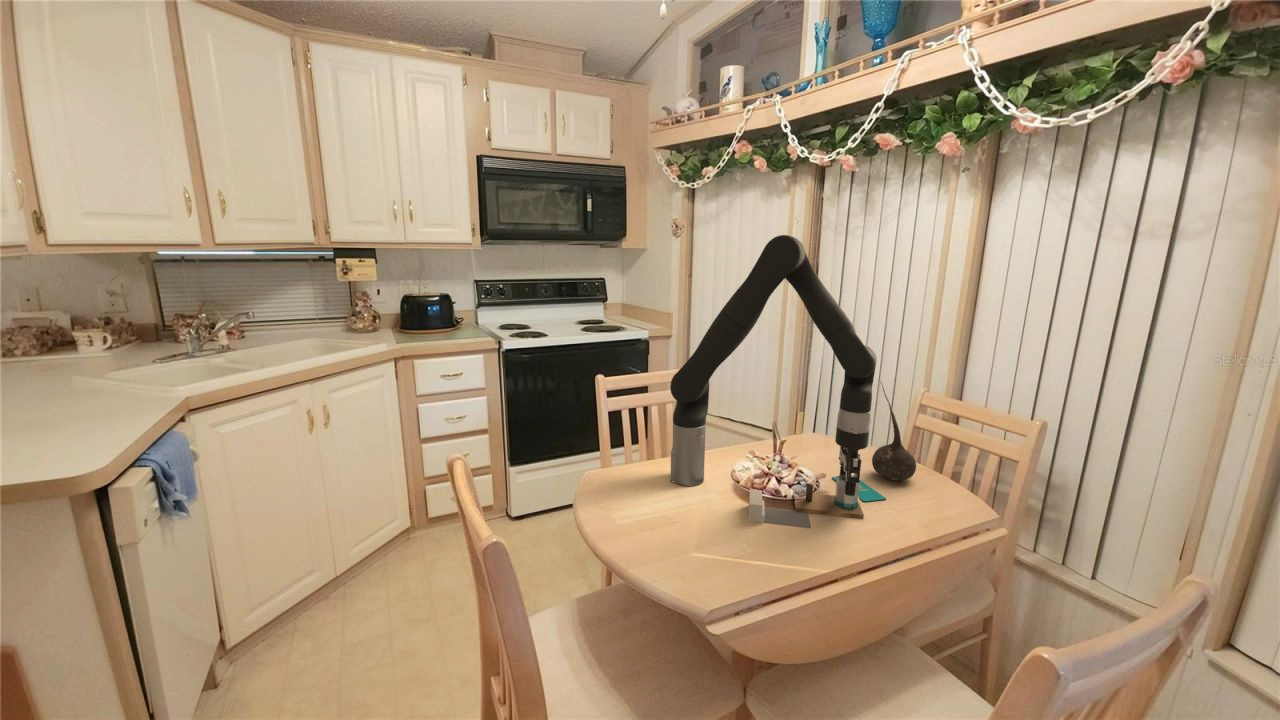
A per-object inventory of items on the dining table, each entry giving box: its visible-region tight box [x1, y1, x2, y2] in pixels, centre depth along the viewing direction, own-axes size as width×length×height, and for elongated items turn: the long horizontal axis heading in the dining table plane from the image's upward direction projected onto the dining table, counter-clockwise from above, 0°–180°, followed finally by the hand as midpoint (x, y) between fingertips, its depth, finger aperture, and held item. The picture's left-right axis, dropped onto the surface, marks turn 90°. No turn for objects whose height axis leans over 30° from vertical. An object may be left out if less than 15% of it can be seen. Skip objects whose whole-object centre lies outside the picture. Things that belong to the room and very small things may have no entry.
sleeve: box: [834, 474, 859, 510], centre depth 129 cm, size 5×5×7 cm
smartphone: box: [831, 474, 887, 503], centre depth 141 cm, size 7×1×15 cm
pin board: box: [793, 482, 865, 519], centre depth 130 cm, size 16×9×6 cm, turn 77°
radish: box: [871, 380, 917, 482], centre depth 145 cm, size 11×14×30 cm
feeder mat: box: [748, 488, 812, 529], centre depth 125 cm, size 14×8×5 cm, turn 77°
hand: (846, 487), depth 128 cm, fingers open, 8 cm apart
